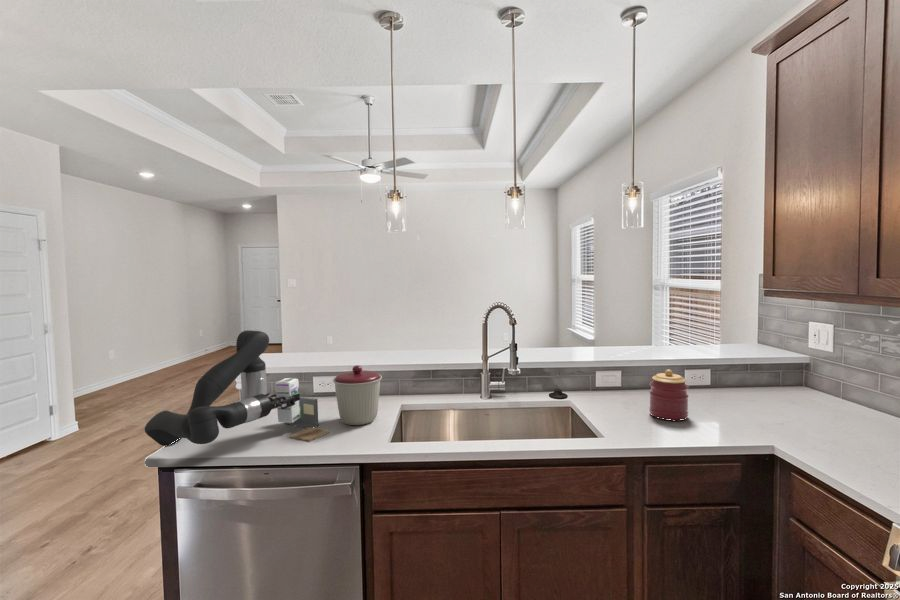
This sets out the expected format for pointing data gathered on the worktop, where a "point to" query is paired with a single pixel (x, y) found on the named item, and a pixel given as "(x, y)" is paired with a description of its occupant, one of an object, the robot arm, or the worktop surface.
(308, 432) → the coaster
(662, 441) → the worktop surface
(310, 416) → the label board
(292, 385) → the syrup box
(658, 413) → the canister
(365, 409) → the canister
